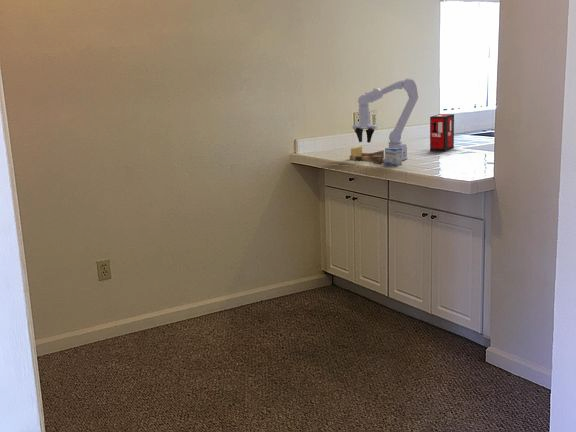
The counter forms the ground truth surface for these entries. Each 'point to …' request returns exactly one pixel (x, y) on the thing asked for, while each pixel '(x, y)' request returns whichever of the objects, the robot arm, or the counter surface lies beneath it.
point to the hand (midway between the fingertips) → (364, 142)
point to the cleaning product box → (442, 132)
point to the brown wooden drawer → (367, 156)
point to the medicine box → (393, 156)
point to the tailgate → (356, 151)
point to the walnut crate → (378, 159)
